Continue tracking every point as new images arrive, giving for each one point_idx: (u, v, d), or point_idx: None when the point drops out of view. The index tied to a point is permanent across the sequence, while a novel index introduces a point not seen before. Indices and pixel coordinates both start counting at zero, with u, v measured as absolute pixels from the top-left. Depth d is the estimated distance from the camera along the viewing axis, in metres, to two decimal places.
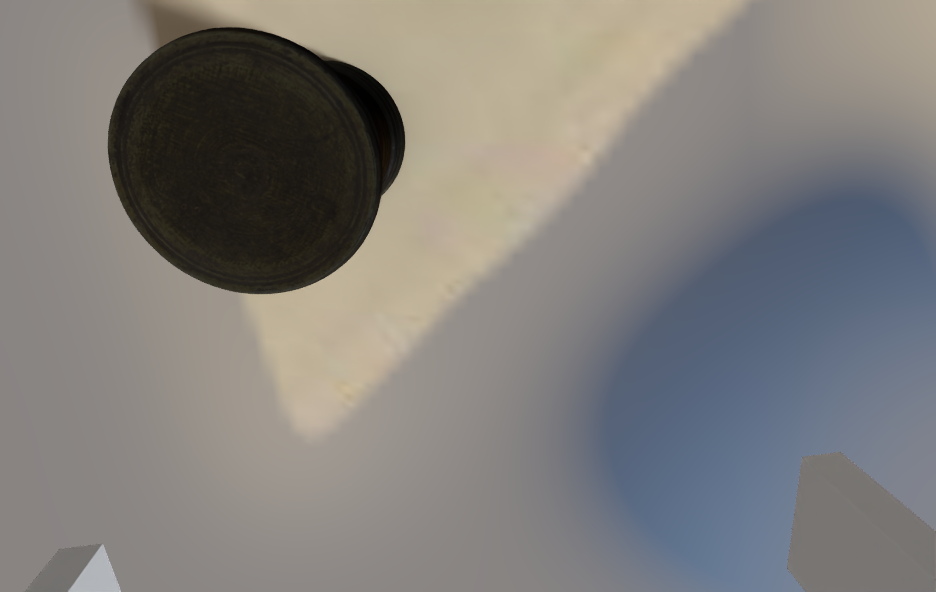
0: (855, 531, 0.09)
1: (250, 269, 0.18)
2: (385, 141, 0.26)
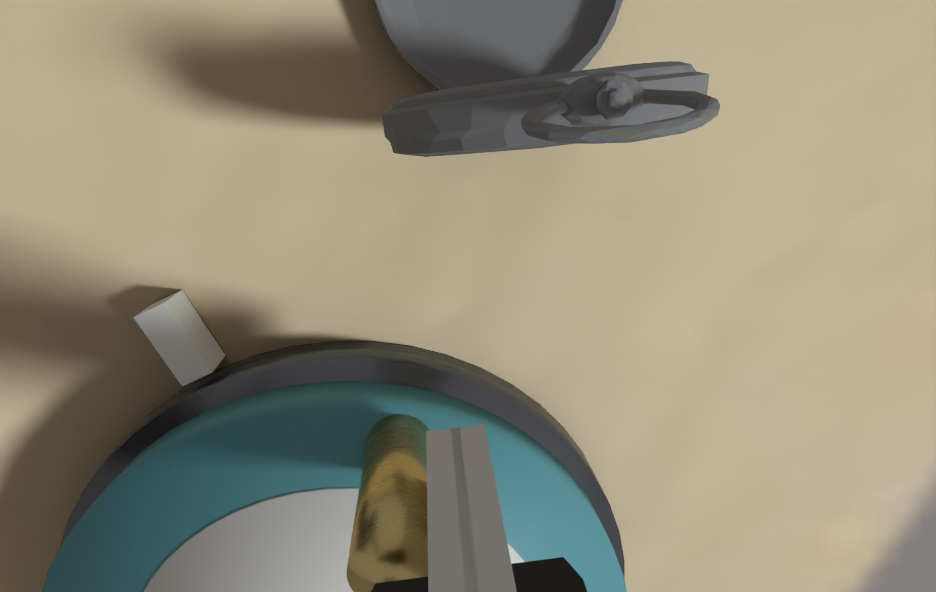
0: None
1: None
2: None
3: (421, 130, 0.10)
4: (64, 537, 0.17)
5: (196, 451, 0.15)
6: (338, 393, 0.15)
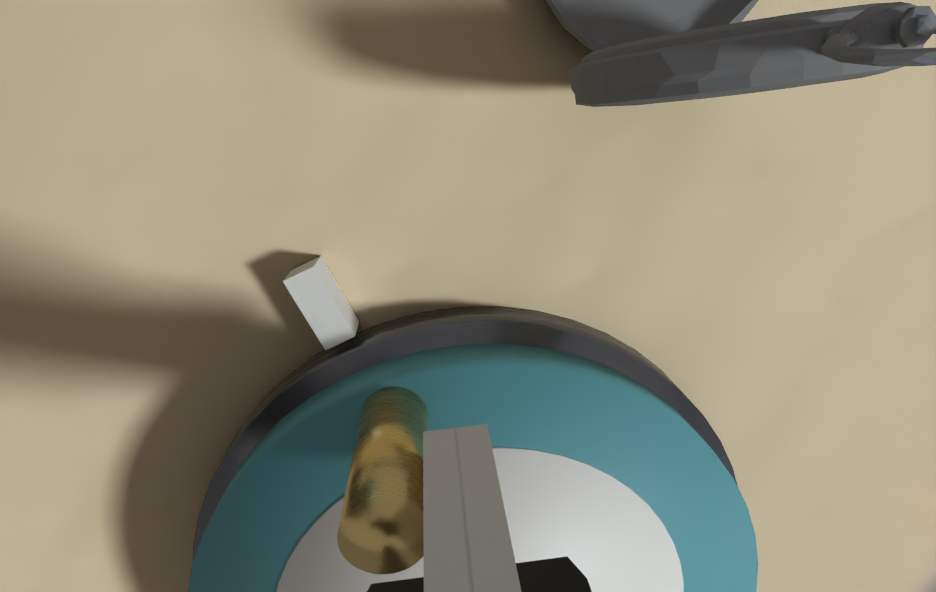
0: None
1: None
2: None
3: (648, 74, 0.10)
4: (205, 500, 0.17)
5: (234, 509, 0.16)
6: (322, 400, 0.16)
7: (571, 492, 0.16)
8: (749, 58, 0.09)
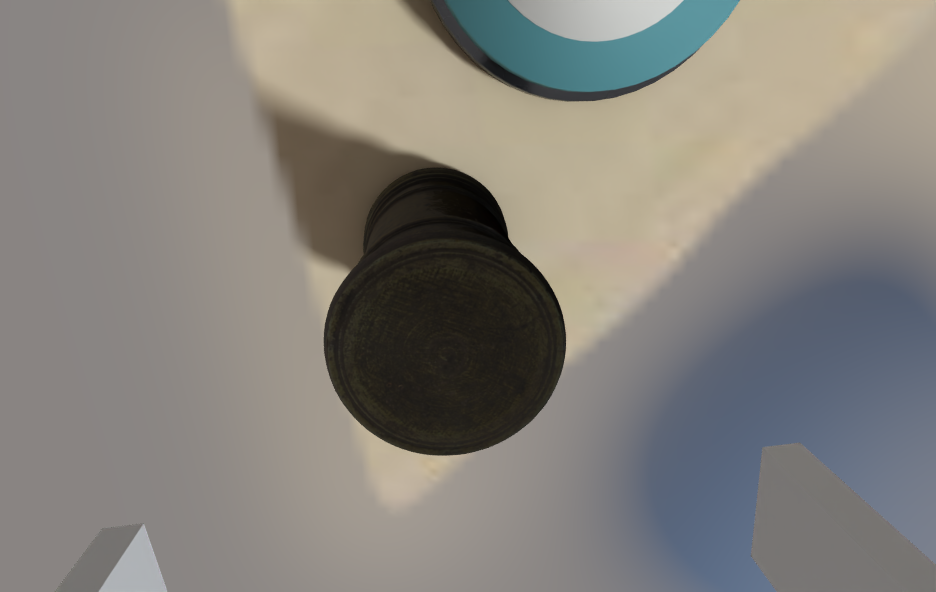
0: (808, 518, 0.10)
1: (441, 436, 0.20)
2: None
3: None
4: None
5: None
6: None
7: None
8: None
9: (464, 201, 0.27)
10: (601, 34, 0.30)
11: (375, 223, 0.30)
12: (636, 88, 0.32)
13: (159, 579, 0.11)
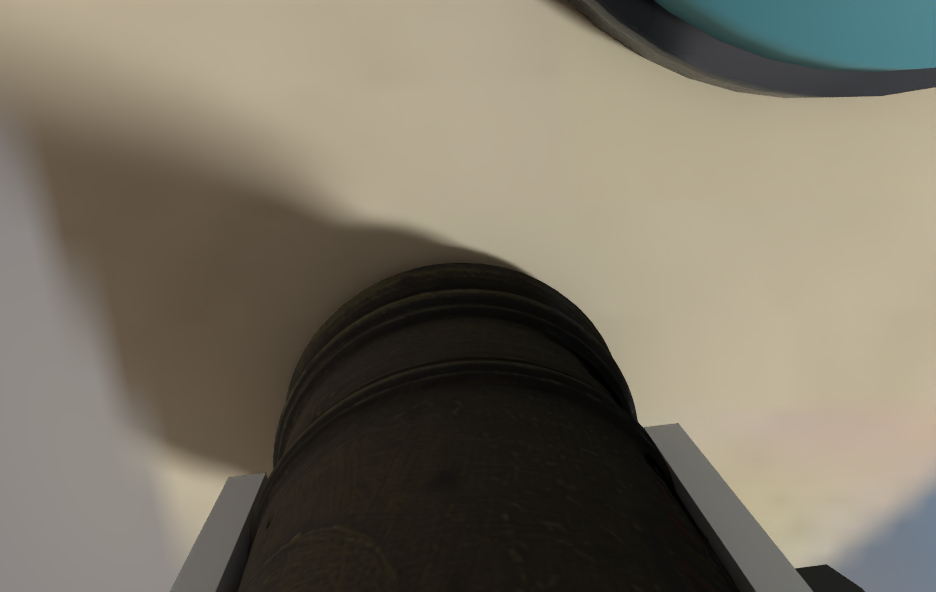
0: None
1: None
2: None
3: None
4: None
5: None
6: None
7: None
8: None
9: (594, 494, 0.07)
10: None
11: (276, 483, 0.09)
12: None
13: None
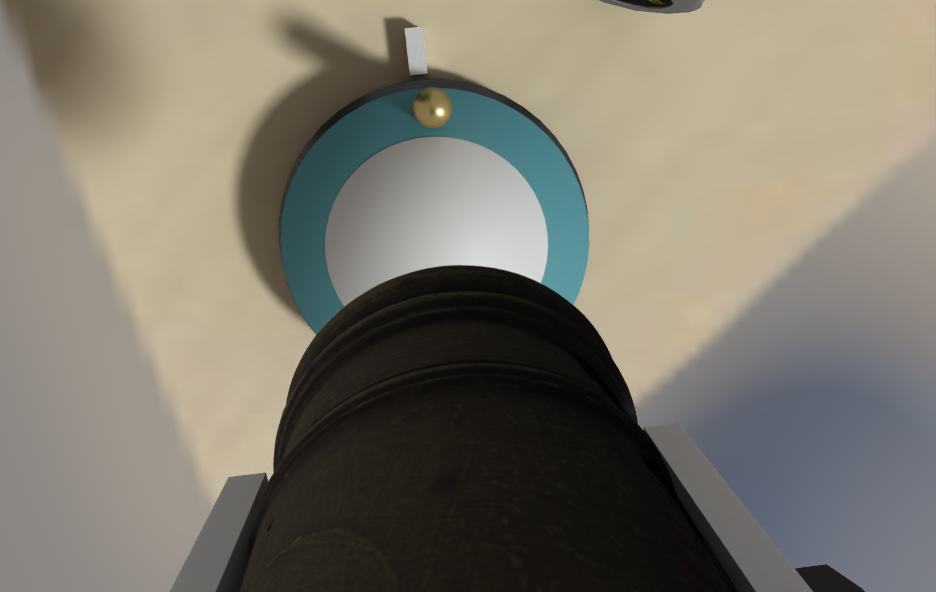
0: None
1: None
2: None
3: None
4: (315, 134, 0.32)
5: (336, 133, 0.30)
6: None
7: (504, 182, 0.31)
8: None
9: (594, 498, 0.07)
10: None
11: (276, 486, 0.09)
12: None
13: None
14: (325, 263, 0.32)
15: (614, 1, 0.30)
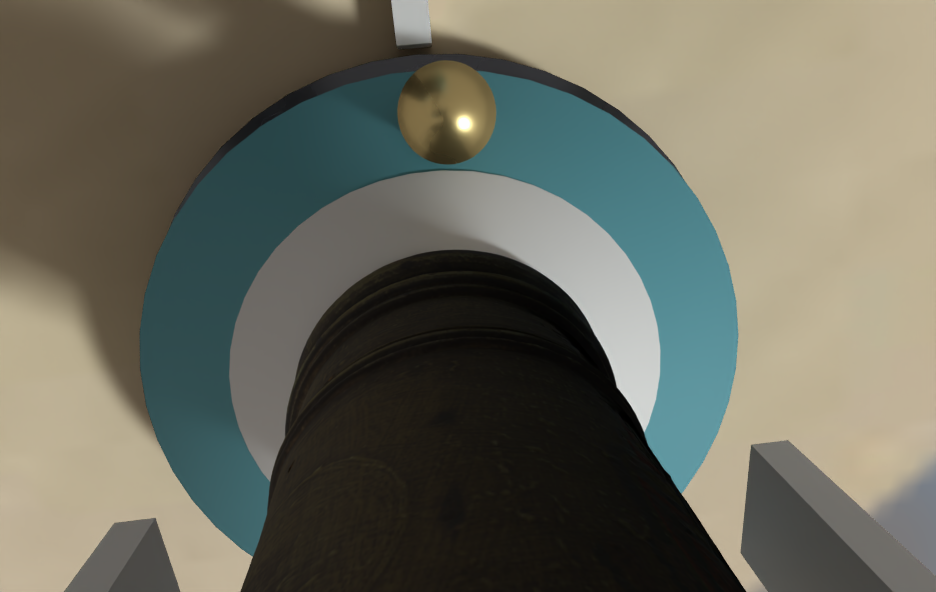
0: (795, 514, 0.10)
1: None
2: None
3: None
4: (209, 163, 0.16)
5: (241, 164, 0.14)
6: None
7: (583, 259, 0.16)
8: None
9: (570, 429, 0.08)
10: None
11: (293, 438, 0.11)
12: None
13: (171, 573, 0.11)
14: (233, 412, 0.17)
15: None
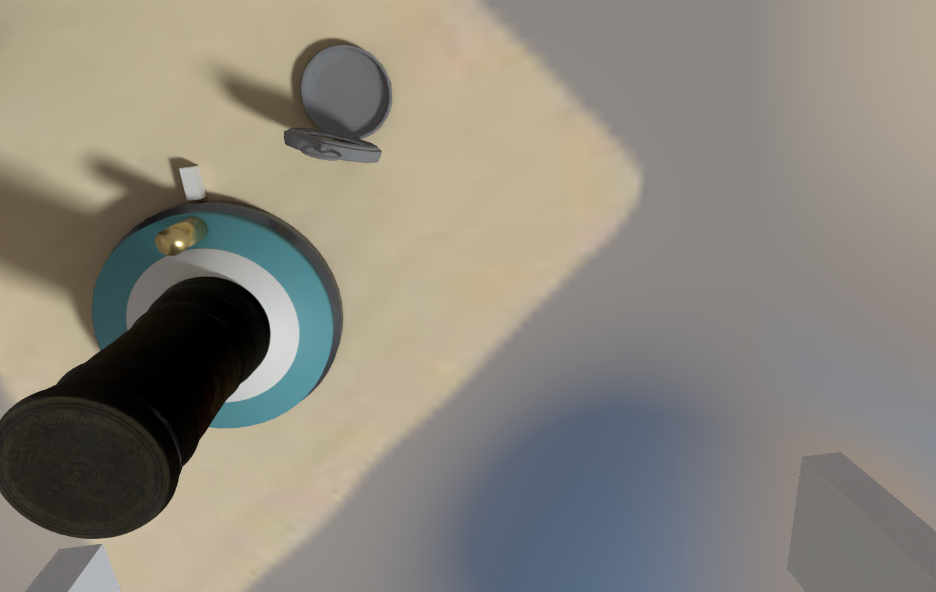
0: (855, 531, 0.09)
1: (89, 526, 0.28)
2: (224, 377, 0.35)
3: (289, 139, 0.37)
4: (118, 243, 0.43)
5: (126, 247, 0.41)
6: (171, 217, 0.41)
7: (257, 279, 0.43)
8: (306, 144, 0.36)
9: (178, 324, 0.35)
10: (231, 397, 0.46)
11: None
12: None
13: None
14: None
15: None
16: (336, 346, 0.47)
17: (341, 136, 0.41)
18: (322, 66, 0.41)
